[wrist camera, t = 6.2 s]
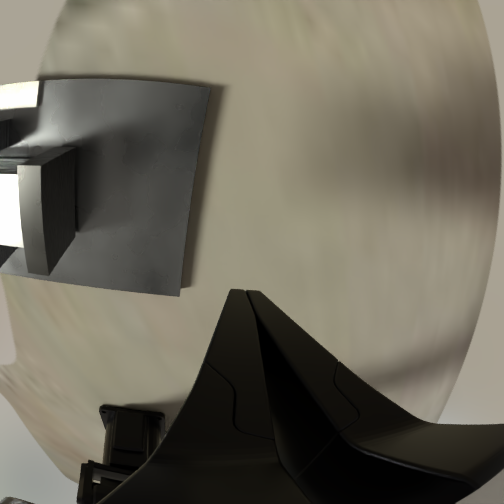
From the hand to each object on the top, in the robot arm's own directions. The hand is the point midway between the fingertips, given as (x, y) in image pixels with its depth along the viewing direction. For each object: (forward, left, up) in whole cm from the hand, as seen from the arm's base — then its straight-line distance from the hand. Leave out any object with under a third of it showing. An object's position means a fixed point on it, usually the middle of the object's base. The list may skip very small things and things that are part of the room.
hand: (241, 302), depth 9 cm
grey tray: (0, +14, -9) cm, 16 cm away
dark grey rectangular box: (+1, +15, -8) cm, 17 cm away
